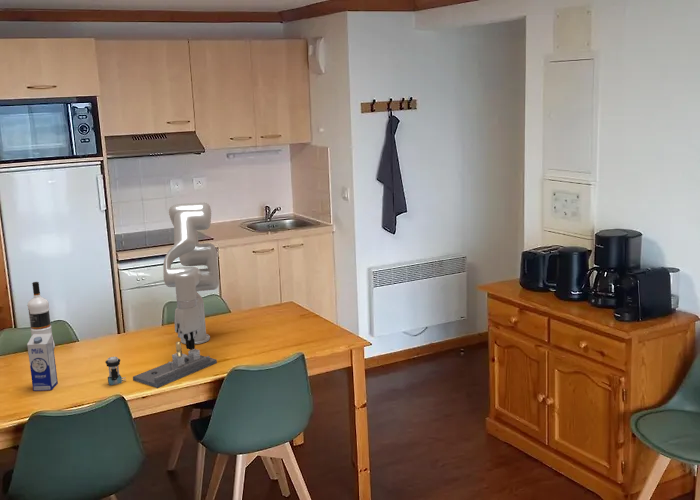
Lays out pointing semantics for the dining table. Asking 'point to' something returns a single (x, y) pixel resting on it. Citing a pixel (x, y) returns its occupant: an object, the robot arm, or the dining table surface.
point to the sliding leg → (178, 357)
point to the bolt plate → (175, 370)
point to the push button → (114, 371)
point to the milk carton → (42, 362)
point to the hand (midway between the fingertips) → (190, 348)
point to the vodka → (39, 313)
